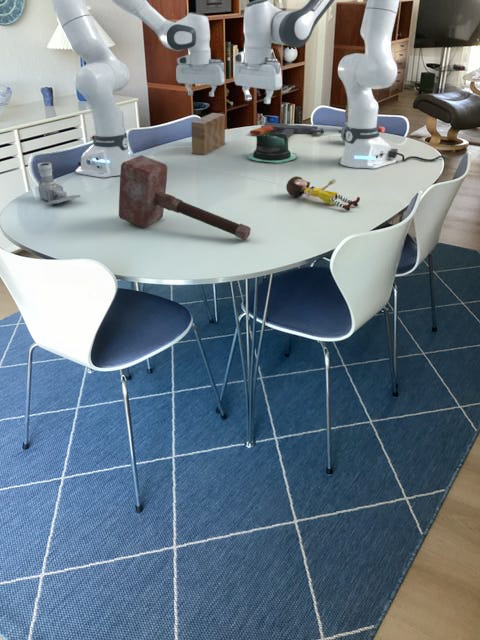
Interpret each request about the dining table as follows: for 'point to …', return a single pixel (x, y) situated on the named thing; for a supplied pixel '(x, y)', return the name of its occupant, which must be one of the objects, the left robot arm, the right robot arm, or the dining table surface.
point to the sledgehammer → (160, 198)
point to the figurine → (317, 192)
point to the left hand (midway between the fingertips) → (201, 95)
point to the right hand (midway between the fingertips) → (257, 102)
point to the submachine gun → (286, 129)
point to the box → (208, 133)
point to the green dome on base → (272, 148)
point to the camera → (51, 186)
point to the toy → (343, 132)
